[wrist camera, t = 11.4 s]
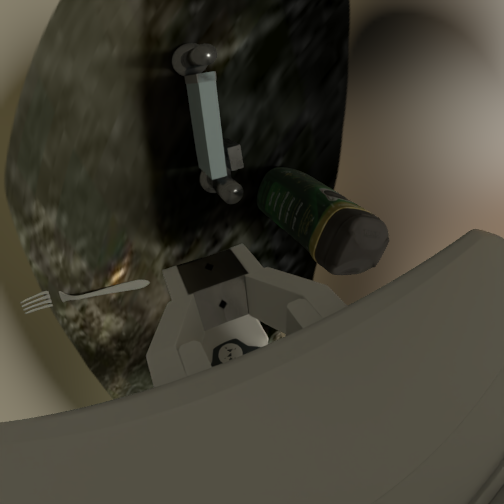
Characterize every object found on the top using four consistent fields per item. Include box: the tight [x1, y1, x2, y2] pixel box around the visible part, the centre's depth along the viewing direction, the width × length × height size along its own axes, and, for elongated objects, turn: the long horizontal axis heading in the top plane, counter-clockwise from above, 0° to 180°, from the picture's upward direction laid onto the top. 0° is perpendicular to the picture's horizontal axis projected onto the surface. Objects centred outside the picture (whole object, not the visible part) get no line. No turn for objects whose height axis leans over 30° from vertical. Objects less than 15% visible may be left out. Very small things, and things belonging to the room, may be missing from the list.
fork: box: [20, 280, 149, 314], centre depth 37 cm, size 3×24×2 cm, turn 83°
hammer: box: [199, 139, 244, 204], centre depth 34 cm, size 7×5×6 cm
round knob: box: [172, 43, 217, 76], centre depth 25 cm, size 4×4×6 cm
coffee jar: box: [257, 167, 389, 275], centre depth 37 cm, size 10×8×19 cm
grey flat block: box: [184, 71, 227, 180], centre depth 30 cm, size 12×2×6 cm, turn 5°
